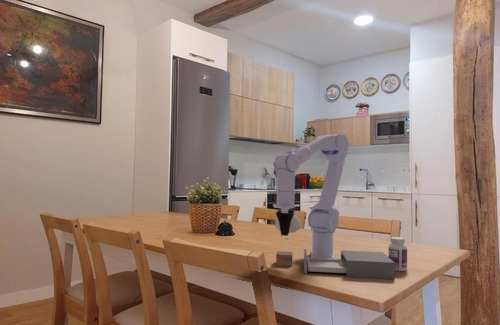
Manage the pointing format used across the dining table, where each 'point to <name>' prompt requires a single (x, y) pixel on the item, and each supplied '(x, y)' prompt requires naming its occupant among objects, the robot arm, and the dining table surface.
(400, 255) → the pill bottle
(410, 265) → the dining table surface
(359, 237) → the dining table surface
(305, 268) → the grey shallow open box
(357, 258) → the block
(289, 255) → the pedestal
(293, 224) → the disc
